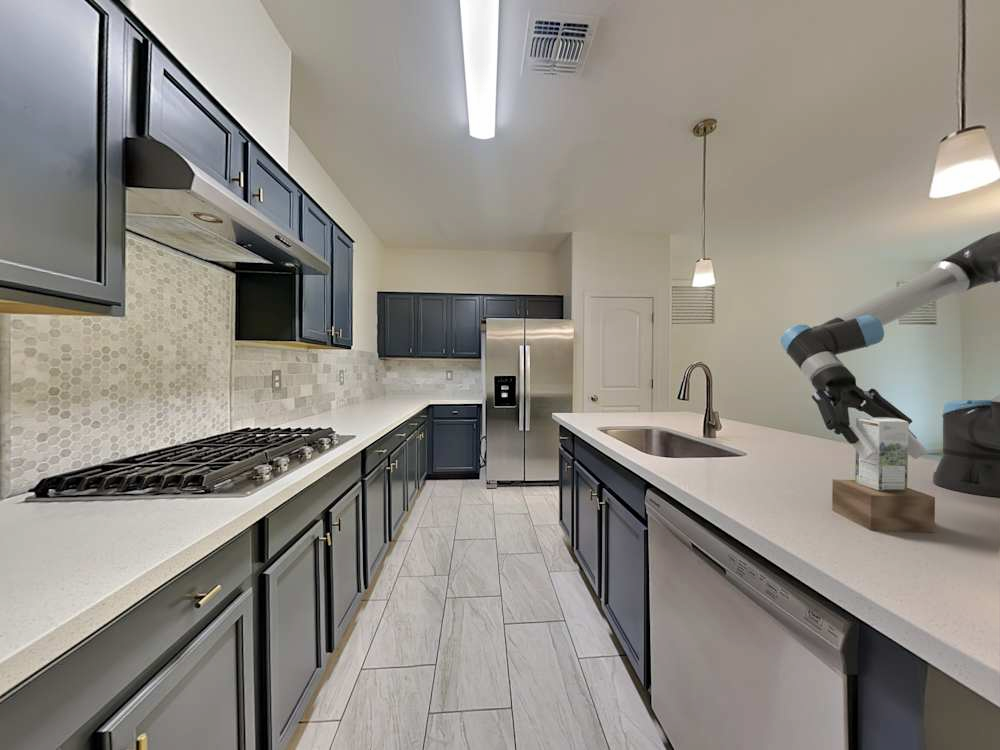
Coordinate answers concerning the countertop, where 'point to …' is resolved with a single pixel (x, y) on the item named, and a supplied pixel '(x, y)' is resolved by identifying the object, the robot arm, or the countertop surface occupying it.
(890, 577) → the countertop surface
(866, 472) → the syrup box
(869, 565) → the countertop surface
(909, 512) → the walnut block
